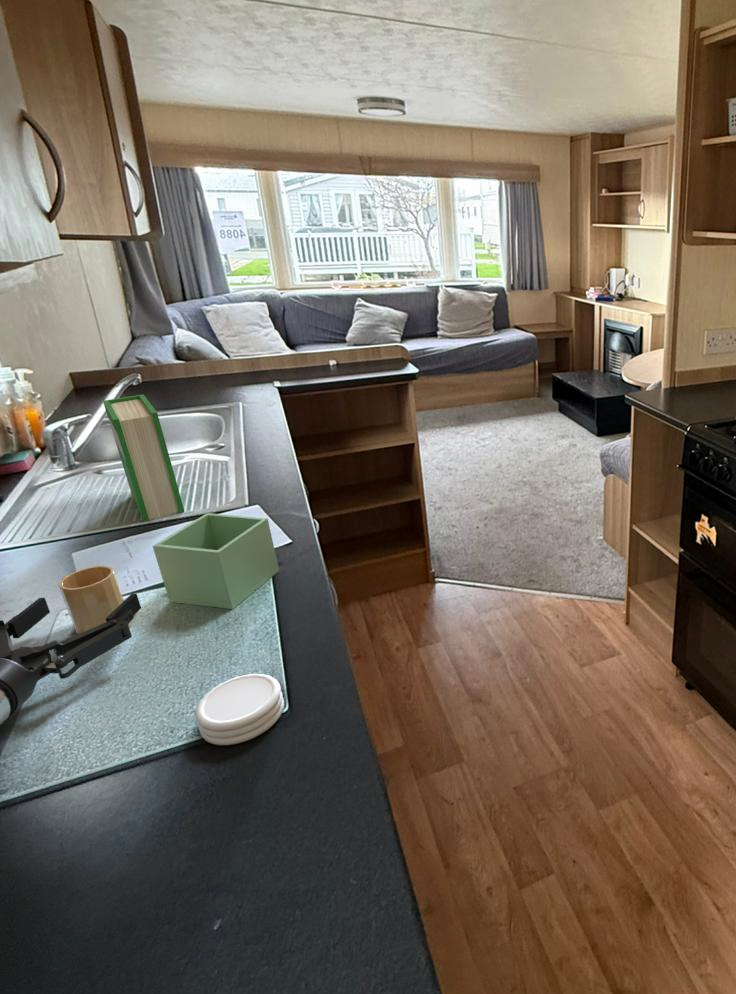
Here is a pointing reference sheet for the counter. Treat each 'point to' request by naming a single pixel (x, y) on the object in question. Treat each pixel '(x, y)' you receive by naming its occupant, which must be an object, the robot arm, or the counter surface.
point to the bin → (217, 560)
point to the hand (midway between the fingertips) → (91, 602)
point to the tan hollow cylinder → (91, 596)
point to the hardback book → (144, 456)
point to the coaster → (239, 709)
